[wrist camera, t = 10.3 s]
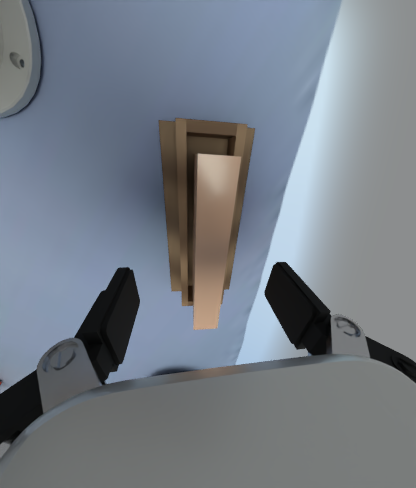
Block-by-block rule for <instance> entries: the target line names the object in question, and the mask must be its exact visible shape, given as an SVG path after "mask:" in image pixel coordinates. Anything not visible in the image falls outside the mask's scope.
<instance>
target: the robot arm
mask: <svg viewBox="0 0 416 488" xmlns="http://www.w3.org/2000/svg"><path fill="white" fill-rule="evenodd" d="M40 68H41V53H40V42H39V36H38V32H37V28H36V24H35V19H34V15H33V12H32V9H31V7H30V4H29V1H28V0H0V118H2V117H7V116H9V115H12V114H15V113H17V112H19V111H20V110H21V109H22V108H24V107H25V106H26V105H27V104H28V103H29V101H30V100H31V98H32V97H33V95H34V94H35V91H36V88H37V85H38V82H39V79H40ZM265 297H266V299H267V300H268V302H269V304H270V305H271V308H272V310H273V311H274V313H275V315H276V317H277V318H278V320H279V322H280V324H281V326H282V328H283V329H284V331H285V333H286V335H287V336H288V338H289V340H290V342H291V343H292V344H294V345H295V347H296V349H305V348H306V349H307V350H308V356H306V357H298V358H290V359H281V360H273V361H265V362H257V363H249V364H241V365H234V366H226V367H218V368H210V369H203V370H195V371H188V372H180V373H173V374H165V375H158V376H152V377H145V378H138V379H132V380H125V381H120V382H115V383H111V384H107V383H106V381H105V380H106V379H107V378H108V376H109V373H110V372H115V371H117V369H118V366H119V364H122V362H123V360H124V357H125V353H126V350H127V346H128V343H129V339H130V336H131V332H132V329H133V325H134V322H135V318H136V315H137V311H138V308H139V304H140V299H139V295H138V290H137V286H136V282H135V277H134V273H133V270H130V268H128V267H126V268H118V269H117V271H116V272H115V274H114V276H113V278H112V280H111V281H110V283H109V285H108V287H107V289H106V290H104V291H102V292H101V293H100V294H99V296H98V298H97V299H96V301H95V303H94V304H93V306H92V308H91V310H90V311H89V313H88V315H87V316H86V318H85V320H84V322H83V323H82V325H81V327H80V328H79V330H78V332H77V334H76V335H75V337H74V338H69V339H66V340H63V341H61V342H59V343H57V344H56V345H54V346H53V347H51V348H50V349H49V350H48V351H47V352H46V353H45V354H44V355H43V356H42V358H41V359H40V361H39V363H38V365H37V370H35V371H34V372H32V373H31V374H29V375H28V376H26V377H25V378H23V379H22V380H20V381H19V382H17V383H16V384H14V385H13V386H11V387H10V388H8V389H7V390H5V391H4V392H3V393H1V394H0V488H416V363H415V362H414V361H413V360H411V359H409V358H408V357H406V356H404V355H403V354H400V353H398V352H396V351H394V350H392V349H390V348H388V347H386V346H384V345H382V344H380V343H378V342H376V341H374V340H372V339H370V338H368V337H366V336H365V334H364V332H363V330H362V329H361V327H360V326H359V325H358V324H357V323H356V322H354V321H353V320H351V319H349V318H348V317H346V316H343V315H339V314H336V315H333V316H331V315H330V314H329V313H330V310H329V309H328V308H327V307H326V306H325V305H324V304H323V302H322V301H321V300H320V299H319V298H318V297H317V296H316V295H315V294H314V293H313V291H312V290H311V289H310V288H309V287H308V286H307V285H306V284H305V283H304V281H303V280H302V279H301V278H300V277H299V276H298V275H297V274H296V273H295V272H294V270H292V268H291V267H290V266H289V265H288V264H287V263H286V262H277V263H276V264H275V265H273V268H272V271H271V274H270V277H269V280H268V283H267V286H266V289H265Z"/></svg>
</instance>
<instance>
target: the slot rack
mask: <svg viewBox="0 0 416 488" xmlns="http://www.w3.org/2000/svg"><path fill="white" fill-rule="evenodd" d="M159 132H160V145H161V158H162V171H163V184H164V198H165V211H166V224H167V237H168V250H169V263H170V276H171V289H172V291H182V306H193V285H192V266H193V196H194V154H209V155H224V156H239V157H241V163H240V170H239V177H238V184H237V191H236V198H235V205H234V212H233V220H232V227H231V234H230V241H229V248H228V255H227V262H226V269H225V277H224V284H223V291H222V298H221V304H222V301H223V294H224V289H229V286H230V280H231V274H232V268H233V261H234V255H235V249H236V243H237V237H238V230H239V224H240V218H241V212H242V206H243V200H244V193H245V187H246V181H247V175H248V169H249V162H250V156H251V150H252V144H253V138H254V132H255V128H247V124H238V123H227V122H216V121H205V120H193V119H182V118H176V122H174V121H162V120H159Z"/></svg>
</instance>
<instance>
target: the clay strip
mask: <svg viewBox="0 0 416 488" xmlns="http://www.w3.org/2000/svg"><path fill="white" fill-rule="evenodd" d="M240 163H241V157H239V156H224V155H209V154H194V196H193V266H192V285H193V325H194V330H198V329H214V328H217V326H218V319H219V312H220V305H221V298H222V291H223V284H224V277H225V269H226V262H227V255H228V248H229V241H230V234H231V227H232V220H233V212H234V205H235V198H236V191H237V184H238V177H239V170H240Z"/></svg>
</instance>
